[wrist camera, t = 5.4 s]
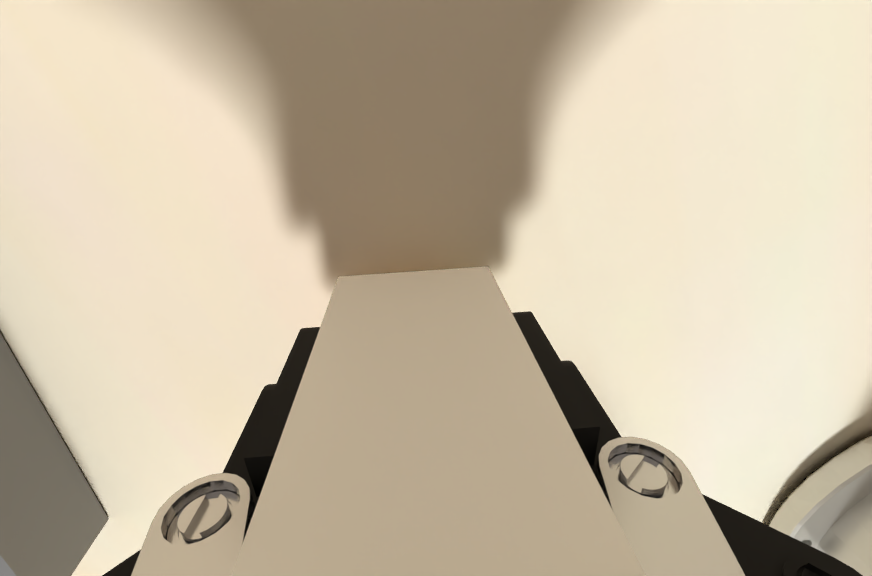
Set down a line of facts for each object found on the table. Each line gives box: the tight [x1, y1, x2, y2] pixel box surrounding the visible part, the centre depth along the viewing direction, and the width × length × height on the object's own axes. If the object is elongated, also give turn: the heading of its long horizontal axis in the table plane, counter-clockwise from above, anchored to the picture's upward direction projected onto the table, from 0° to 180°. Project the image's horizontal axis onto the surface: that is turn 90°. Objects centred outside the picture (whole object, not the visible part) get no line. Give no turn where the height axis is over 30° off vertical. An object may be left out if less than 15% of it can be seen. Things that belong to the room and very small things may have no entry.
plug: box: [231, 266, 646, 576], centre depth 7 cm, size 4×4×11 cm
